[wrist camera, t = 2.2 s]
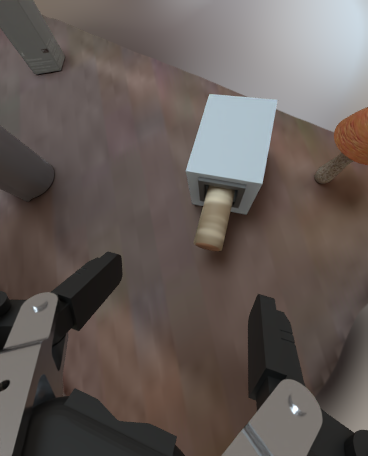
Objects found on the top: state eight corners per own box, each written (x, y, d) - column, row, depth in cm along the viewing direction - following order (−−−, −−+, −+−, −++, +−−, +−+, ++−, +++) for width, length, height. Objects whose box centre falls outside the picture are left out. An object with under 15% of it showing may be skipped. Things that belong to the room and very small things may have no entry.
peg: (220, 253, 28) (222, 247, 24) (194, 246, 28) (192, 240, 25) (236, 181, 31) (240, 166, 27) (212, 177, 32) (213, 162, 28)
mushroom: (350, 202, 32) (463, 134, 18) (299, 198, 33) (367, 132, 19) (346, 162, 34) (443, 74, 20) (298, 160, 36) (358, 75, 21)
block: (245, 217, 34) (261, 187, 24) (191, 206, 35) (184, 174, 26) (259, 149, 37) (277, 99, 27) (209, 143, 39) (209, 94, 29)
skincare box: (35, 75, 54) (-32, -8, 39) (40, 58, 56) (-21, -26, 41) (63, 71, 53) (5, -16, 38) (67, 54, 55) (14, -35, 40)
